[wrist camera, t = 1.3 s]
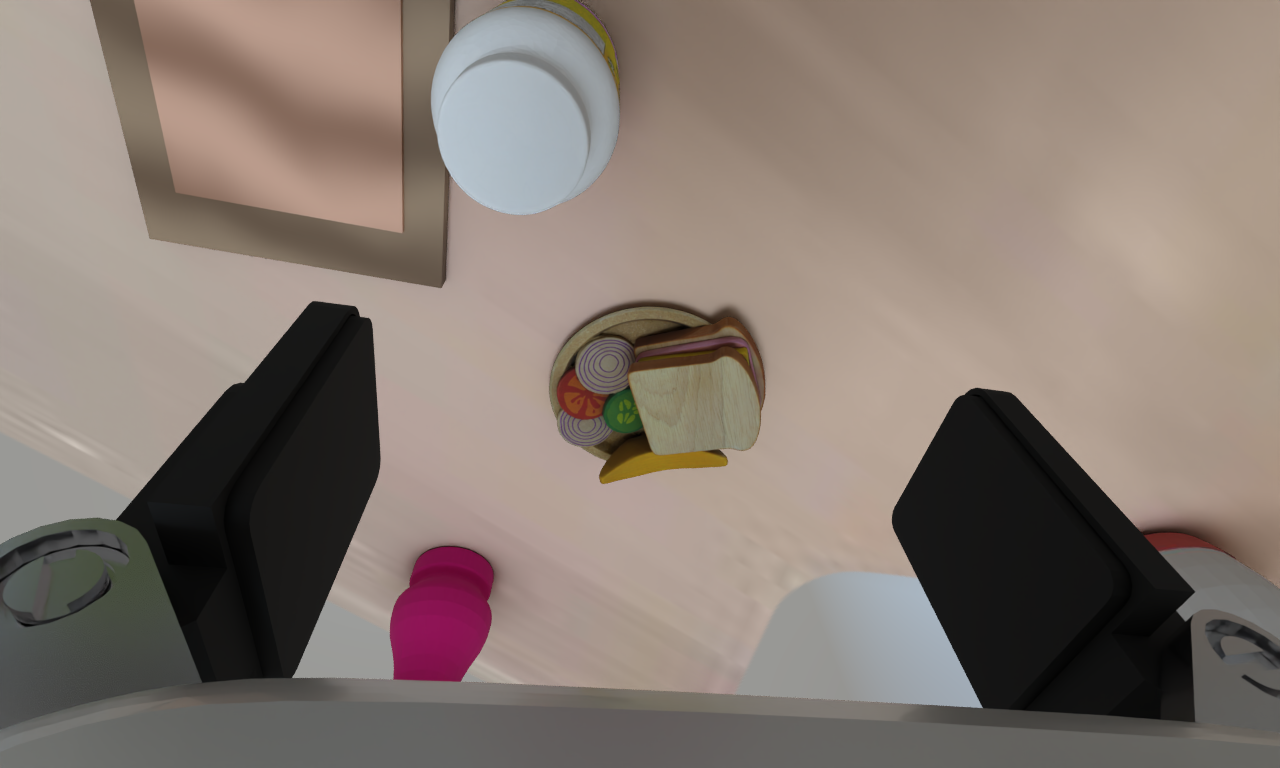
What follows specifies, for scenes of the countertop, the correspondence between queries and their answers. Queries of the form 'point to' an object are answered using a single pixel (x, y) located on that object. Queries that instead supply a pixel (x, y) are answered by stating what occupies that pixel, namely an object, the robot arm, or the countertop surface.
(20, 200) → the countertop surface
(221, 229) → the tile board
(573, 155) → the supplement bottle
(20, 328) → the countertop surface
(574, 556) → the countertop surface
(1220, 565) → the citrus juicer
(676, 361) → the toy sandwich meal
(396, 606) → the pepper mill
